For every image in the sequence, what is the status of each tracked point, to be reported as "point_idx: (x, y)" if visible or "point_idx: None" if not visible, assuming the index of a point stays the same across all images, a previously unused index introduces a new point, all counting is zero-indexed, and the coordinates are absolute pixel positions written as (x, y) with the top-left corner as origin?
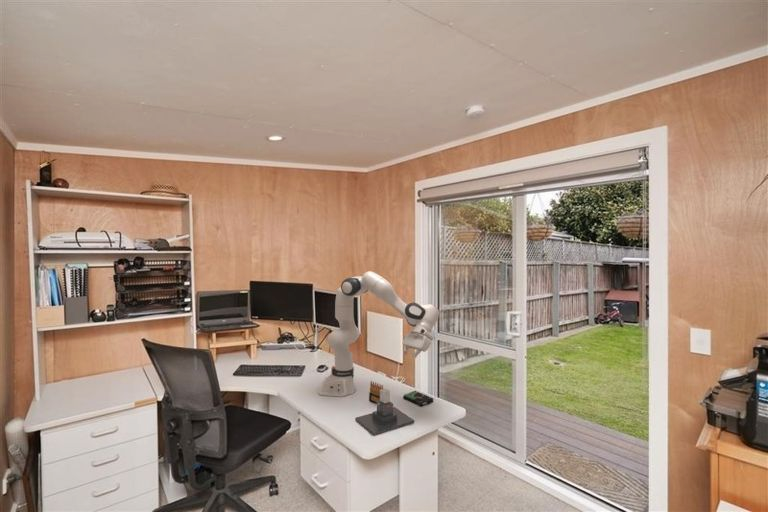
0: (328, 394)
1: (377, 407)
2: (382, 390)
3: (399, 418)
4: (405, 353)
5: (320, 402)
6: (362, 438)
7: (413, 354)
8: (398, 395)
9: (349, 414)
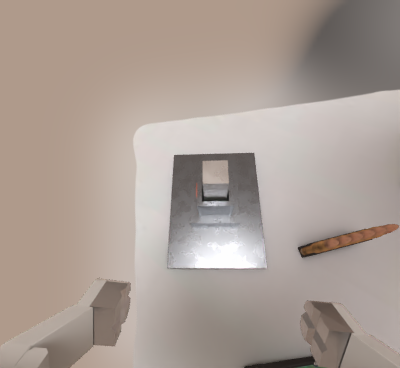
0: None
1: None
2: (218, 164)
3: (197, 238)
4: (310, 320)
5: (377, 128)
6: (180, 139)
7: (104, 292)
8: None
9: (287, 157)
